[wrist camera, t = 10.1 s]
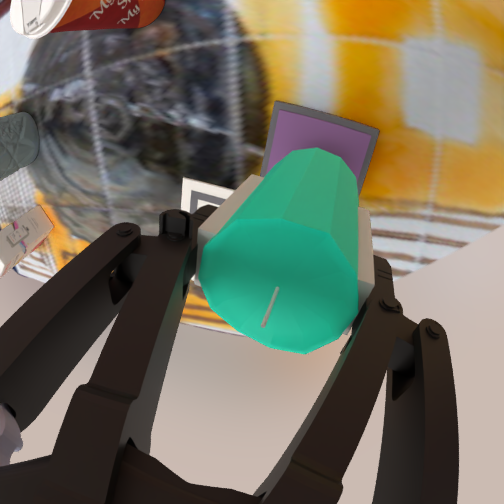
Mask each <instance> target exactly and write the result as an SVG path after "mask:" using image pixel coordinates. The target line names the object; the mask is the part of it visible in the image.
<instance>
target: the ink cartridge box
mask: <svg viewBox="0 0 504 504" xmlns="http://www.w3.org/2000/svg"><path fill="white" fill-rule="evenodd" d="M53 227H54V226H53V224H52V223H51V221H50V220H49V218H48V217H47V215H46V214H45V212H44V211H43V209H42V208H41V206H40V205H38V206H36V207H35V208H33V209H32V210H30V211H29V212H27V213H26V214H24V215H23V216H21V217H20V218H18V219H17V220H15V221H14V222H12V223H11V224H9V225H8V226H6V227H5V228H4V229H2V230H1V231H0V278H1V277H3V276H4V275H5V274H6V273H7V272H8V271H9V270H10V269H12V268H13V267H14V266H15V265H16V264H18V263H19V262H20V261H21V260H22V259H24V258H25V257H26V256H28V255H29V254H30V253H31V252H33V251H34V250H35V249H36V248H38V247H39V246H40V245H41V244H42V242H43V241H44V239H45V238H46V237H47V235H48V234H49V233H50V231H51V230H52V229H53Z"/></svg>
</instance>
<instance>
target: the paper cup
mask: <svg viewBox="0 0 504 504" xmlns="http://www.w3.org/2000/svg"><path fill="white" fill-rule="evenodd" d="M164 4H165V0H12V2H11V8H10V20H11V25H12V27H13V29H14V30H15V31H16V32H17V33H18V34H21V35H25V36H26V37H28V38H31V39H37V38H41V37H42V36H44V35H46V34H47V33H54V32H63V31H77V30H96V29H115V28H141V27H145V26H147V25H149V24H150V23H152V22H153V21H154V20H155V19H156V18H157V17H158V16H159V15H160V13H161V12H162V10H163V7H164Z"/></svg>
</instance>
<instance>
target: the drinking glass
mask: <svg viewBox="0 0 504 504" xmlns="http://www.w3.org/2000/svg"><path fill="white" fill-rule="evenodd" d="M38 151H39V134H38V129H37V126H36V123H35V121H34V119H33V118H32V116H31V115H30V114H28V113H26V112H20V113H16V114H11V115H8V116H4V117H0V181H1V180H3V179H4V178H6V177H8V176H9V175H11V174H13V173H14V172H16V171H18V170H19V169H20V168H22V167H25V166H27V165H29V164H30V163H32V162H33V161H34V160H35V159H36V157H37V154H38Z"/></svg>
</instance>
